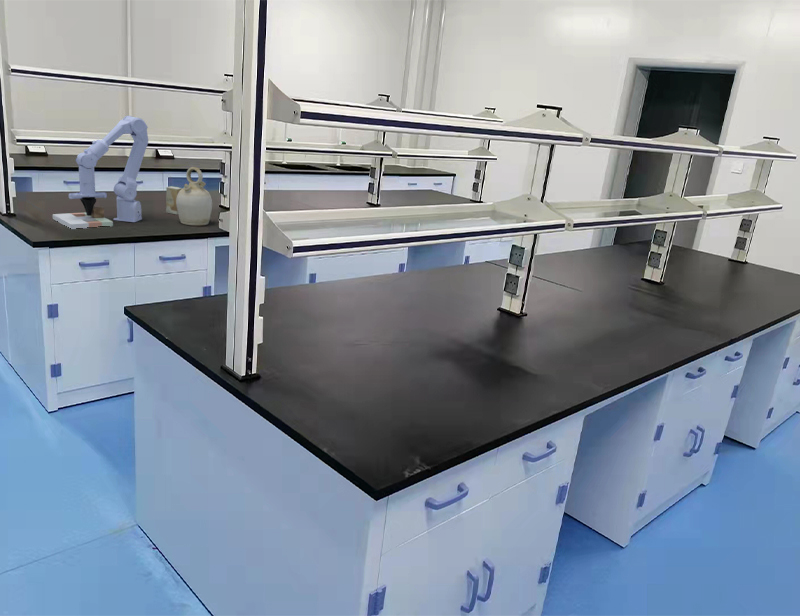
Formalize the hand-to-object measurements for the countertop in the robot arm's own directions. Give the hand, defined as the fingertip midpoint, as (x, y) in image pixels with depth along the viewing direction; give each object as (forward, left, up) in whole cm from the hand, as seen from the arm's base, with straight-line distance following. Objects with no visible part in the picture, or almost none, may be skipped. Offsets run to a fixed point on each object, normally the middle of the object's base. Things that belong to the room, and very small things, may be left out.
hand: (89, 215), depth 264 cm
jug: (-37, -21, -3) cm, 43 cm away
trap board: (+1, +1, -3) cm, 4 cm away
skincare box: (-22, -36, -3) cm, 42 cm away
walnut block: (-2, -2, -1) cm, 3 cm away
